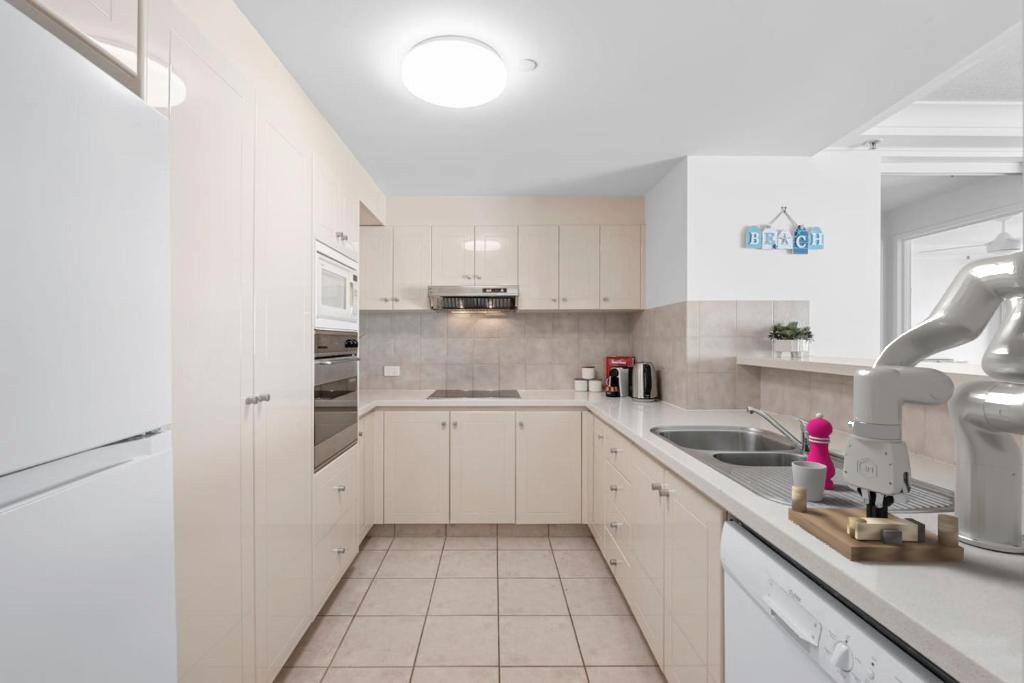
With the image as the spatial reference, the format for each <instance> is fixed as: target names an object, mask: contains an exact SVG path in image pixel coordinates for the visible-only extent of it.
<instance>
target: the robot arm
mask: <svg viewBox="0 0 1024 683" xmlns="http://www.w3.org/2000/svg"><path fill="white" fill-rule="evenodd" d="M1003 303H1004V304H1005V314H1004V316H1003V319H1002V321H1001V323H1000V324H999V327H998V328H997V330H996V332H995V334H994V335H993V337H991V338H992V339H991V340H990V342H989V343H988V346H987V347H986V349H985V351H984V353H983V356H982V358H981V364H980V366H981V370H982V371H983V373H985V375H987V376H988V377H990V378H992V379H995V380H998V381H993V380H969V381H966V382H962V383H960V384H957V385H955V383H954V381H953V379H952V378H951V377H950V376H949V375H948V374H947V373H945V372H943V371H941V370H939V369H936V368H931V367H922V366H917V365H918V364H919V363H921V362H923V361H924V360H925V359H927V358H930V357H932V356H933V355H935V354H938V353H941V352H945V351H947V350H951V349H954V348H957V347H960V346H964V345H965V344H968V343H970V342H973V341H975V340H977V339H979V337H981V335H982V334H983V332H984V330H985V329H986V328H987V327H988V325H989V323H990V322H991V320H992V318H993V317H994V315H995V314H996V313H997V311H998V309H999V308H1000V307H1001V306H1002V304H1003ZM945 403H947V409H948V414H949V416H950V420H951V426H952V429H953V438H954V439H953V440H954V441H953V443H954V475H953V476H954V479H953V480H954V481H953V482H954V489H953V490H954V492H953V493H954V496H953V497H954V501H953V502H954V511H953V512H954V514H953V516H955V517H957V518H958V519H959V538H958V542H963V543H965V544H968V545H971V546H976V547H977V548H978V547H979V548H983V549H987V550H991V551H996V552H997V551H998V552H1003V553H1014V554H1024V536H1023V455H1022V451H1021V449H1020V446H1019V444H1018V442H1017V440H1016V439H1015V437H1014V435H1020V436H1024V250H1023V251H1018V252H1014V253H1010V254H1004V255H998V256H992V257H984V258H981V259H977V260H973V261H971V262H968V263H966V264H965V265H964V266H963V267H961V269H959V271H958V273H957V274H956V275H955V276H954V278H953V279H952V281H951V282H950V284H949V285H948V287H947V288H946V290H945V292H944V293H943V295H942V296H941V298H940V299H939V301H938V302H937V304H936V305H935V307H933V309H932V311H931V312H930V314H929V315H928V316H927V317H926V318H924V320H922V321H921V322H918V323H917V324H916V325H913V326H912V327H911V328H909V329H908V330H906V331H905V332H904V333H902V334H900V335H899V336H898V337H896V338H895V339H893V340H892V341H891V342H890V343H888V345H887V346H885V348H884V349H883V350H882V351H881V353H880V354H879V355H878V357H877V359H875V361H874V362H873V364H872V366H871V367H861V368H857V369H856V370H855V371H854V372H853V419H852V421H851V420H849V422H848V428H850V429H852V433H853V434H849V435H848V438H847V442H846V445H845V450H844V458H843V459H844V460H843V469H842V470H843V471H842V474H843V476H842V477H843V480H844V482H845V483H846V484H847V487H849V489H851V490H854V492H855V491H856V492H857V493H858V494H859V495H860V497H861V498H862V502H863V504H865V506H866V507H865V509H866V517H867V518H888V513H889V507H891V506H892V505H893V504H896V503H899V504H906V503H909V502H910V500H911V499H910V495H909V493H911V489H912V468H911V460H910V454H909V450H908V447H907V446H908V445H907V443H906V441H904V440H903V406H904V405H907V406H908V405H909V406H916V407H924V408H934V407H939V406H943V404H945Z"/></svg>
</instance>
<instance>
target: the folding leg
mask: <svg viewBox="0 0 1024 683" xmlns="http://www.w3.org/2000/svg"><path fill="white" fill-rule="evenodd" d="M881 529H898V530H900V531H902V541H917V542H925V530H926V524H924V523H922V522H921V521H919V520H916V519H914V518H911V517H905V518H901V519H894V518H859V517H847V533H848V534H849V535H850V536H851V537H854V538H856V539H859V540H881Z"/></svg>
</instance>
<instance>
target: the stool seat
mask: <svg viewBox="0 0 1024 683" xmlns="http://www.w3.org/2000/svg"><path fill="white" fill-rule="evenodd" d="M787 511H788V515H787V516H788V520H789V521H790V520H791V522H792V521H793V522H794V523H793V522H792V523H793V524H795V523H796V524H797V525H796V524H795V525H796V526H798V525H799V526H800V527H799V526H798V527H799V528H801V527H802V528H801V529H803V530H804V529H805V530H804V531H805V532H807V533H809V534H810V535H811V536H813V537H814V538H816V539H817V540H819V539H820V540H819V541H821V542H822V541H823V542H822V543H823V544H825V543H826V544H825V545H827V546H828V545H829V546H828V547H830V548H831V547H832V548H831V549H833V550H834V549H835V550H834V551H836V552H837V553H839V554H840V555H842V556H843V557H844V558H846V559H848V560H849V561H852V562H859V561H860V562H938V563H939V562H941V563H942V562H943V563H944V562H945V563H951V562H952V563H955V562H956V563H963V562H965V547H964V546H961V545H959V540H958V538H959V519H958V518H957V517H955V516H954V515H951V514H947V513H946V514H945V513H939V514H937V534H935V533H934V532H931V531H929V530H927V529H925V542H917V541H902V531H900V530H898V529H881V540H859V539H856V538H854V537H851V536H850V535H849V534H848V533H847V517H859V518H867V517H866V508H864V507H863V508H861V507H860V508H854V507H853V508H852V507H851V508H848V507H847V508H846V507H845V508H843V507H841V508H839V507H838V508H836V507H835V508H834V507H833V508H831V507H827V508H825V507H823V508H822V507H808V501H807V488H806V487H802V486H794V485H792V486H791V507H788V510H787ZM888 518H894V519H902V518H901V517H899V516H897V515H895V514H892V513H890V512H888Z"/></svg>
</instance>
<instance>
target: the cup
mask: <svg viewBox="0 0 1024 683" xmlns="http://www.w3.org/2000/svg"><path fill="white" fill-rule="evenodd" d="M791 470H792V471H791V472H792V478H793V486H802V487H806V488H807V502H813V503H817V502H818V503H819V502H822V501H823V498H824V494H825V493H824V492H825V489H824V487H825V481H826V473H827V466H825V465H823V464H820V463H816V462H809V461H806V460H795V461H792V462H791Z"/></svg>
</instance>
